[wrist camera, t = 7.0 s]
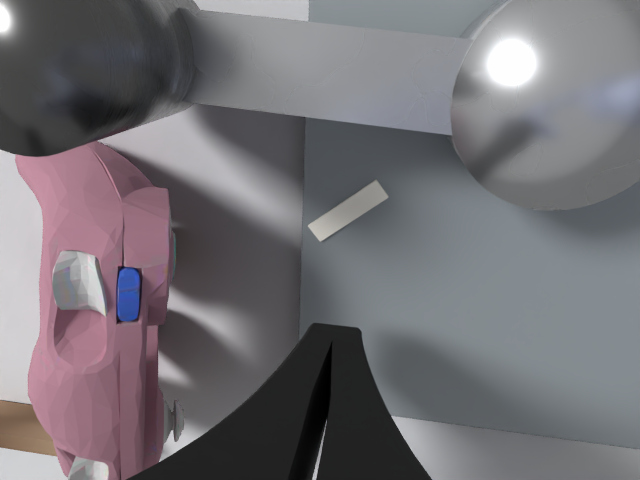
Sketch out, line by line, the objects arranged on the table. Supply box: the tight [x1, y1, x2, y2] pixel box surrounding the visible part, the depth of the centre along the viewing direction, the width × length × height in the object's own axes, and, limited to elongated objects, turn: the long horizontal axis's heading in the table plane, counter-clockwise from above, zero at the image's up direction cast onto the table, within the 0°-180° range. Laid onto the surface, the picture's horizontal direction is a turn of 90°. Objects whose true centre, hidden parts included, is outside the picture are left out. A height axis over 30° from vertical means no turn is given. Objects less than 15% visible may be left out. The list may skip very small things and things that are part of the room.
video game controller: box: [15, 141, 184, 480], centre depth 13 cm, size 10×5×7 cm, turn 168°
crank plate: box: [299, 0, 640, 449], centre depth 11 cm, size 15×22×1 cm
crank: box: [0, 0, 640, 211], centre depth 8 cm, size 13×4×5 cm, turn 84°
